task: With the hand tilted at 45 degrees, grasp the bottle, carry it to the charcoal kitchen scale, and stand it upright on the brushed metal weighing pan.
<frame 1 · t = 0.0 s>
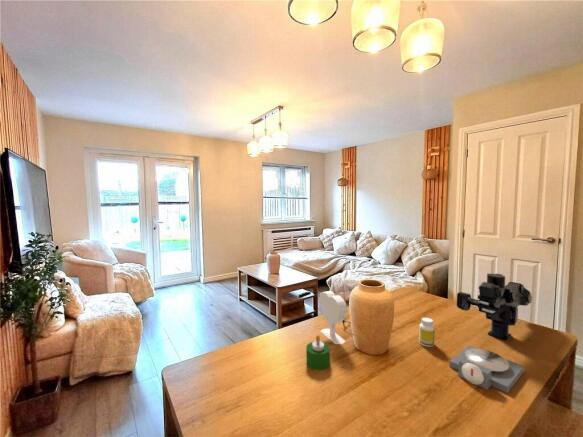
hand: (476, 312, 96), 17 cm above the table, tool horizontal, fingers open, 9 cm apart
eyeglasses: (362, 327, 122), on the table
scale pan: (486, 359, 90), point 3 cm above the table, slide at -0.3 cm
supplement bottle: (426, 344, 106), on the table
scale housing: (485, 369, 90), on the table
candle: (318, 363, 95), on the table
heart sculpture: (332, 336, 113), on the table
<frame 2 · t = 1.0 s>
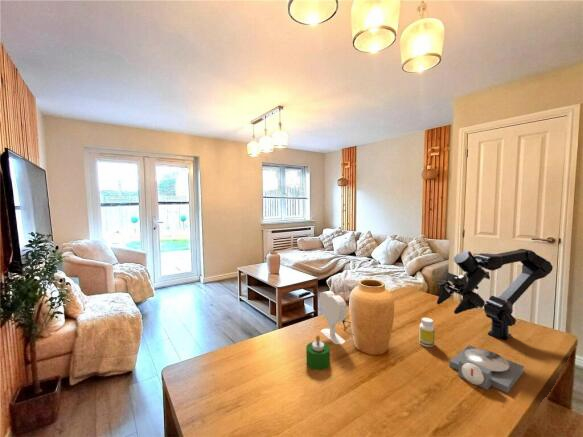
hand: (445, 308, 106), 14 cm above the table, tool tilted 45°, fingers open, 9 cm apart
nothing on the table moved.
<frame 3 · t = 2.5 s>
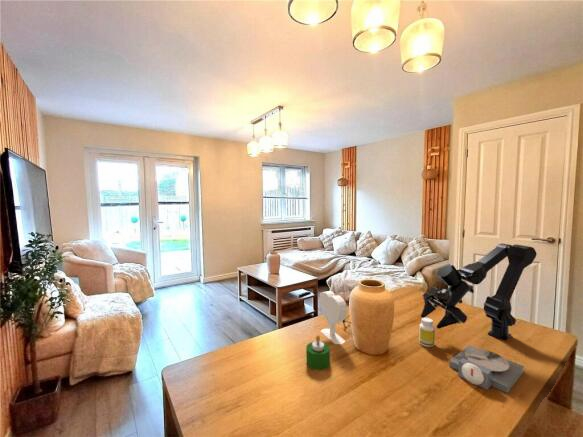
hand: (429, 322, 106), 9 cm above the table, tool tilted 45°, fingers open, 9 cm apart
nothing on the table moved.
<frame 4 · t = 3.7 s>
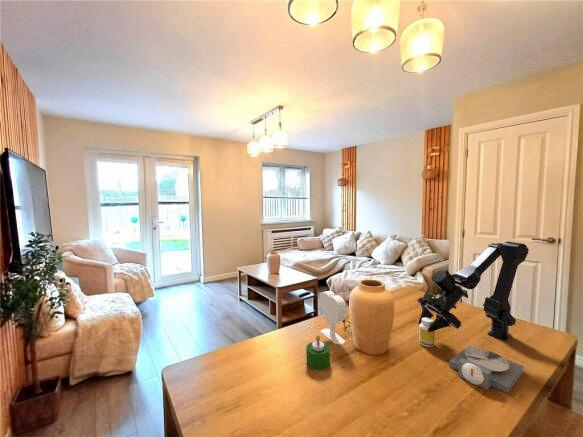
hand: (423, 327, 105), 7 cm above the table, tool tilted 45°, fingers closed on supplement bottle, 5 cm apart
supplement bottle: (426, 344, 106), on the table, touching gripper
everything else where it was.
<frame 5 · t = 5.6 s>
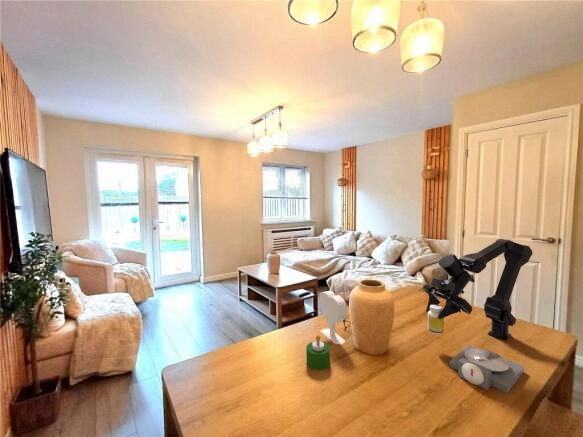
hand: (432, 315, 101), 13 cm above the table, tool tilted 45°, fingers closed on supplement bottle, 5 cm apart
supplement bottle: (435, 332, 102), point 6 cm above the table, touching gripper
everything else where it was.
when the fingers open (12 cm above the table, at t = 7.5 s): supplement bottle drops 2 cm, resting on scale pan.
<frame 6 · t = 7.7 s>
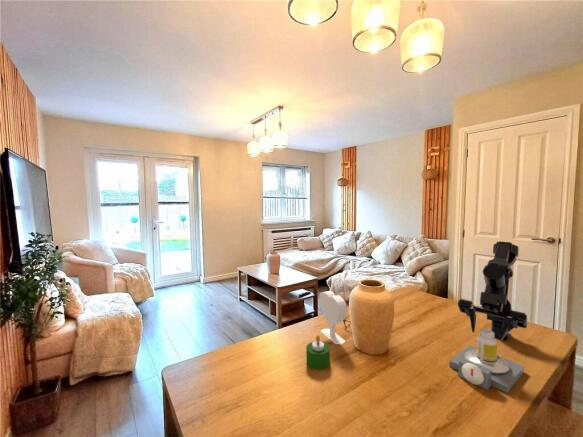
hand: (486, 336, 88), 12 cm above the table, tool tilted 45°, fingers open, 7 cm apart
scale pan: (486, 361, 90), point 3 cm above the table, slide at -0.9 cm, touching supplement bottle
supplement bottle: (486, 360, 90), point 3 cm above the table, touching scale pan
everything else where it was.
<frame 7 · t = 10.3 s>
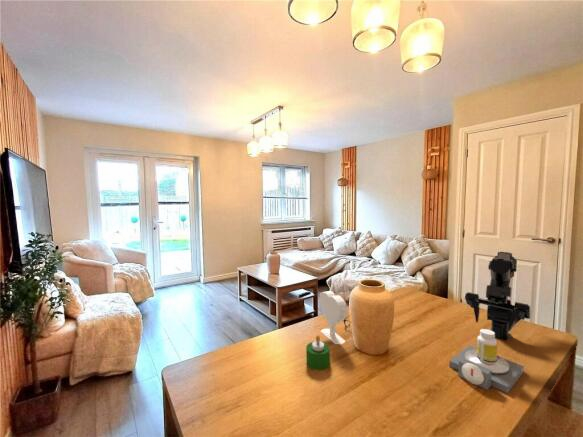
hand: (492, 326, 95), 12 cm above the table, tool tilted 45°, fingers open, 9 cm apart
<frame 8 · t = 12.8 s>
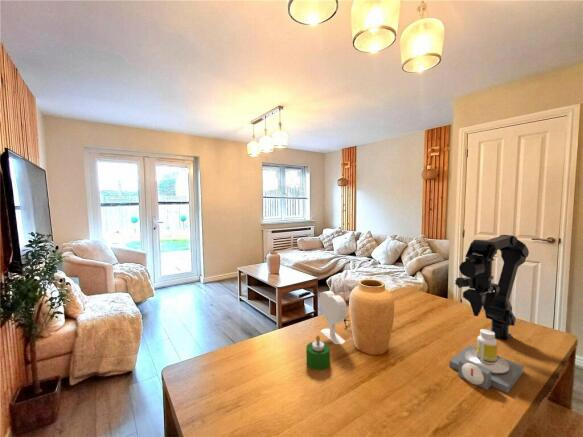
hand: (480, 312, 103), 13 cm above the table, tool pointing down, fingers open, 9 cm apart
at the end: supplement bottle inside the target area on the scale housing (0.1 cm from its centre), point 2.9 cm above the scale housing's base; supplement bottle tilted 0°; the gripper is holding nothing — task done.
